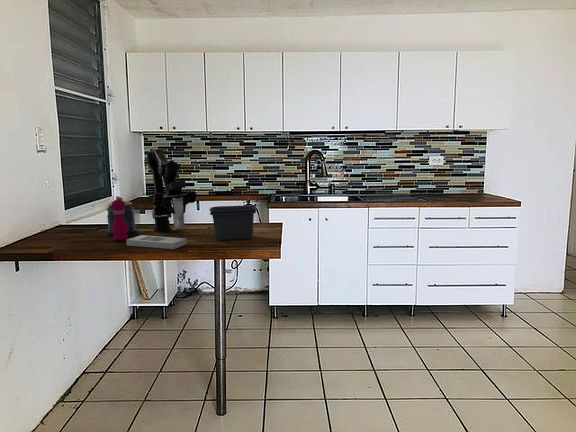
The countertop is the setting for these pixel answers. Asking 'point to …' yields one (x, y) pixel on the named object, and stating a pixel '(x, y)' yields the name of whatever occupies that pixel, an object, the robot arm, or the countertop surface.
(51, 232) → the countertop surface
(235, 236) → the storage bin
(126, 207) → the canister
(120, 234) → the pepper mill
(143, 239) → the white flat box
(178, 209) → the sleeve
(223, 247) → the countertop surface
